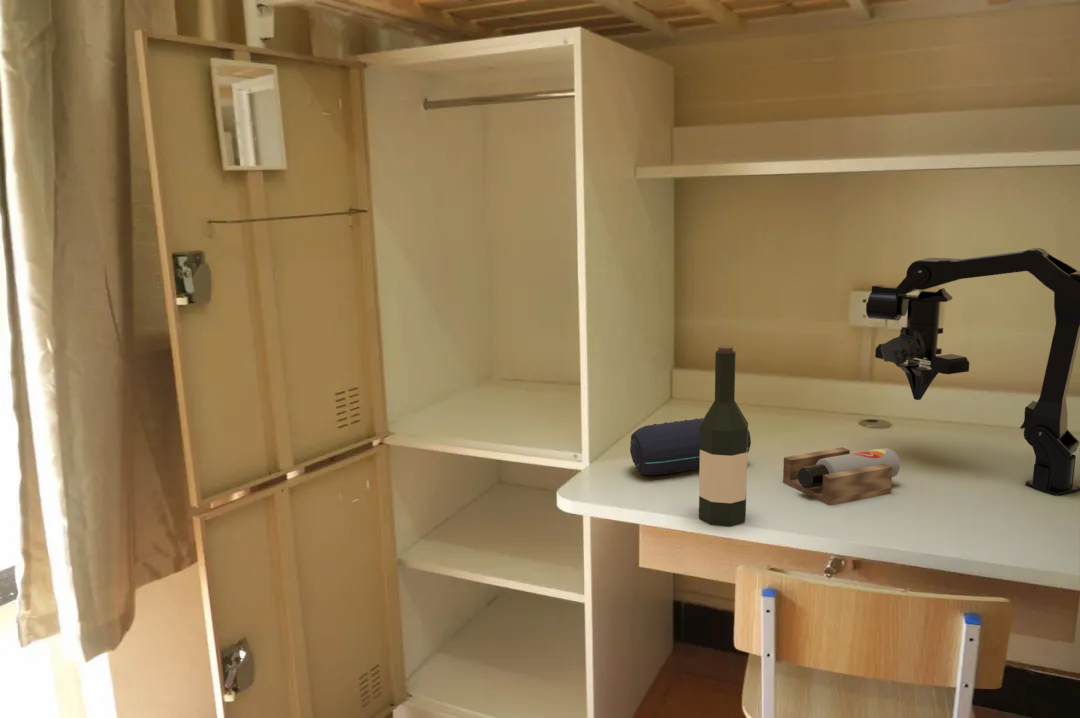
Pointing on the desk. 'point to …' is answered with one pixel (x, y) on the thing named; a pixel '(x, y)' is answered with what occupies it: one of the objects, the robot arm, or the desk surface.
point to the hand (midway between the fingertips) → (917, 399)
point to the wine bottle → (723, 450)
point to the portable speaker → (668, 447)
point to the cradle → (839, 478)
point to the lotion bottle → (847, 465)
